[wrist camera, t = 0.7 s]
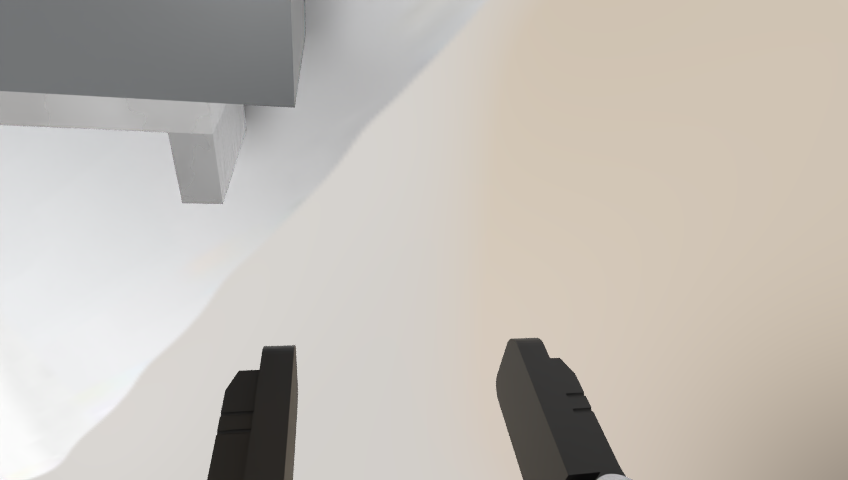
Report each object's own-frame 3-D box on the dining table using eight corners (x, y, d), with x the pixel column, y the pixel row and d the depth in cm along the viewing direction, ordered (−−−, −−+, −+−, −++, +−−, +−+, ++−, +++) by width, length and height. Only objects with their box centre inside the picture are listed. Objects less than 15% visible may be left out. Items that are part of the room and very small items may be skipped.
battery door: (-12, 25, 21) (-137, 83, 15) (237, 44, 23) (208, 102, 17) (24, 119, 23) (-72, 198, 18) (246, 129, 25) (222, 203, 20)
